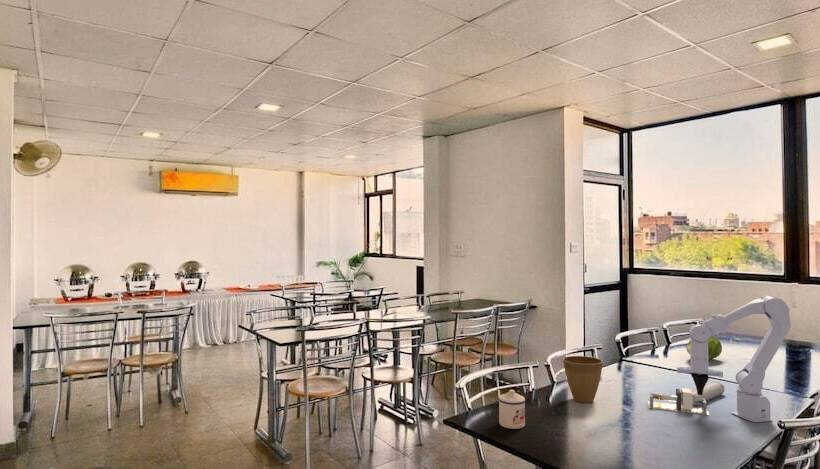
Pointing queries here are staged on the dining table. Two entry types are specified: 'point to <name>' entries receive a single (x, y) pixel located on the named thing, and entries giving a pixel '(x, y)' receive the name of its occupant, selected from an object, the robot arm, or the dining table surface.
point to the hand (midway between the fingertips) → (699, 394)
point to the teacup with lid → (512, 410)
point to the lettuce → (710, 347)
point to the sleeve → (687, 399)
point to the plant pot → (583, 377)
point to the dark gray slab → (678, 399)
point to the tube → (709, 391)
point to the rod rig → (673, 406)
